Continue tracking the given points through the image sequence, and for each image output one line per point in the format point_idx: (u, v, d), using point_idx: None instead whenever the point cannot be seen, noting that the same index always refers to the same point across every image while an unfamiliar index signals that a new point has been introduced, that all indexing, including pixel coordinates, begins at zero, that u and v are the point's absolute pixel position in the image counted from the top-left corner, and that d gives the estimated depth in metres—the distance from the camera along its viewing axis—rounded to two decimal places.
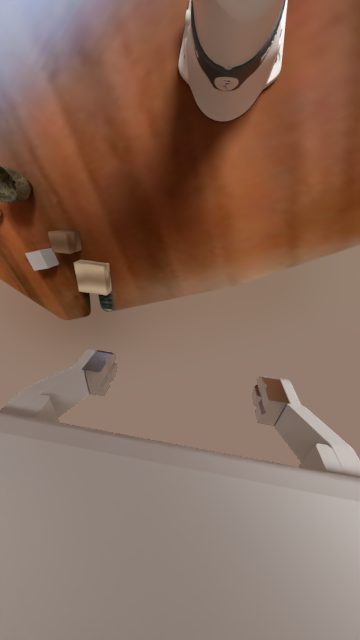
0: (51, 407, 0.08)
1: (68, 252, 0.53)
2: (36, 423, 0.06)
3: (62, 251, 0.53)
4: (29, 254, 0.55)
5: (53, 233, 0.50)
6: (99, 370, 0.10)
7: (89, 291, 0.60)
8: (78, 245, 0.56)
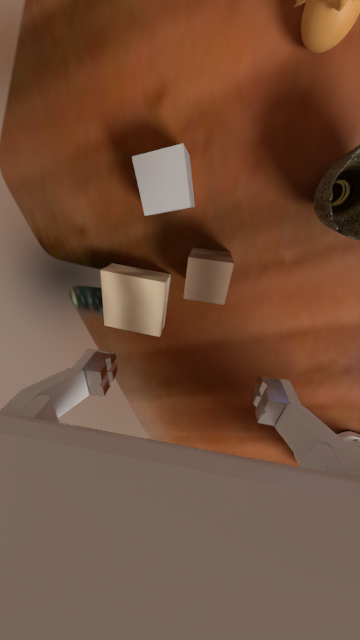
0: (51, 407, 0.08)
1: (186, 296, 0.24)
2: (36, 423, 0.06)
3: (188, 283, 0.23)
4: (180, 162, 0.18)
5: (228, 276, 0.22)
6: (99, 370, 0.10)
7: (105, 294, 0.28)
8: None
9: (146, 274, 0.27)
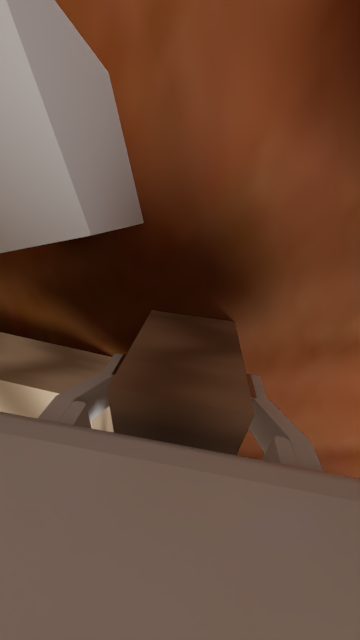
0: (86, 413, 0.08)
1: None
2: (36, 423, 0.06)
3: None
4: None
5: (236, 437, 0.07)
6: None
7: None
8: None
9: (57, 367, 0.13)
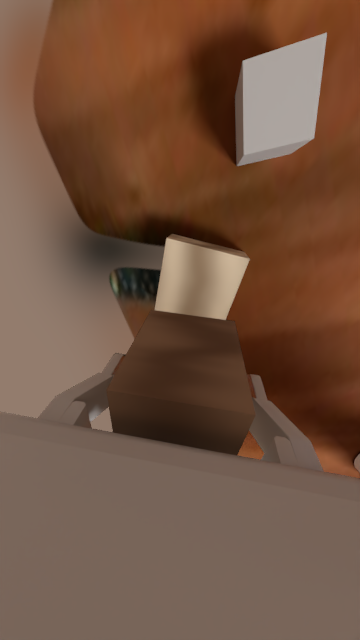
0: (86, 413, 0.08)
1: None
2: (36, 423, 0.06)
3: None
4: (315, 66, 0.13)
5: (237, 438, 0.07)
6: None
7: (165, 271, 0.22)
8: None
9: (220, 248, 0.22)
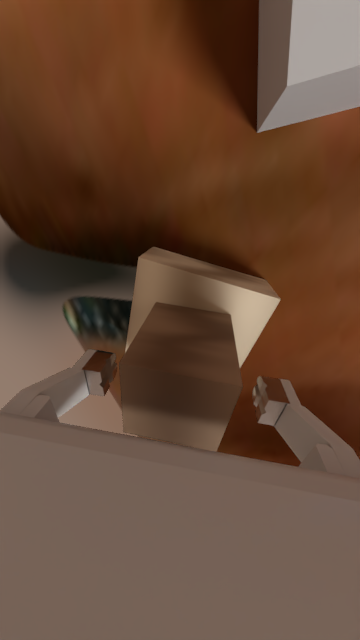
0: (51, 407, 0.08)
1: (129, 429, 0.10)
2: (36, 423, 0.06)
3: (130, 410, 0.09)
4: None
5: (227, 409, 0.08)
6: (99, 370, 0.10)
7: (138, 309, 0.14)
8: None
9: (229, 276, 0.13)
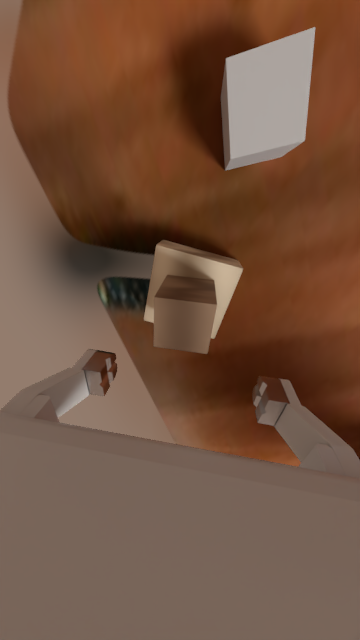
0: (51, 407, 0.08)
1: (157, 344, 0.18)
2: (36, 423, 0.06)
3: (158, 329, 0.17)
4: (303, 63, 0.12)
5: (210, 321, 0.16)
6: (99, 370, 0.10)
7: (155, 279, 0.21)
8: None
9: (213, 256, 0.21)
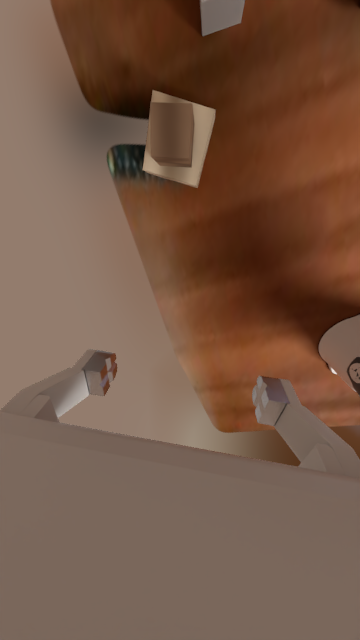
0: (51, 407, 0.08)
1: (153, 153, 0.25)
2: (36, 423, 0.06)
3: (153, 136, 0.24)
4: None
5: (189, 121, 0.23)
6: (99, 370, 0.10)
7: None
8: (167, 164, 0.29)
9: None
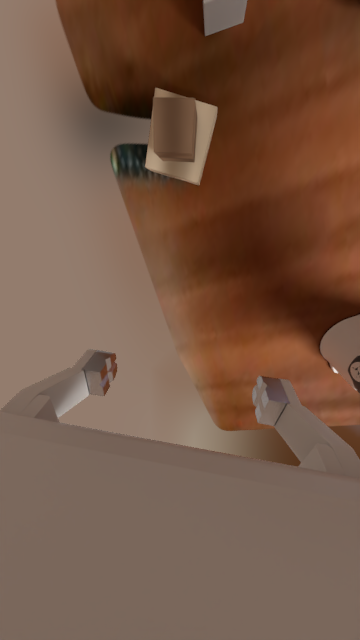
0: (51, 407, 0.08)
1: (156, 148, 0.25)
2: (36, 423, 0.06)
3: (156, 131, 0.25)
4: None
5: (191, 116, 0.24)
6: (99, 370, 0.10)
7: None
8: (170, 159, 0.30)
9: None
